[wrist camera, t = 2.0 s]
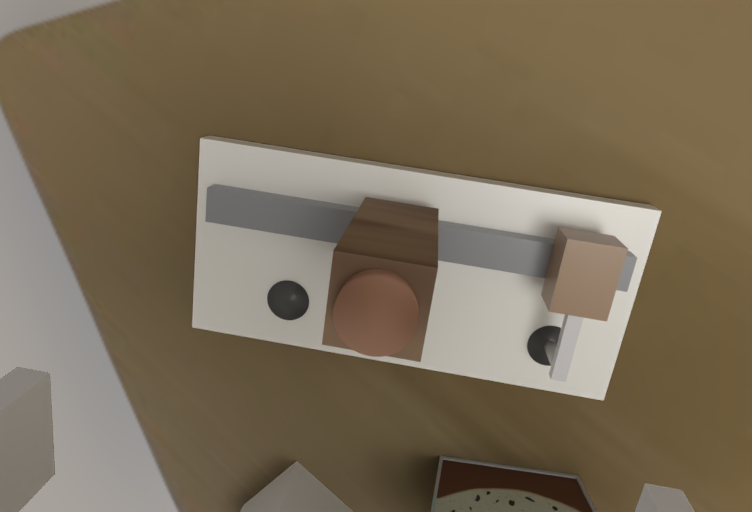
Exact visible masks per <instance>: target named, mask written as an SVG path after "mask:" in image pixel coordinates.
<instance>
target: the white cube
mask: <svg viewBox="0 0 752 512" xmlns="http://www.w3.org/2000/svg"><path fill="white" fill-rule="evenodd" d="M240 512H353V511H352V510H351V509H350V508H349V507H348V506H347V505H346V504H344V503H343V502H342V501H341V500H340V499H339V498H338V497H337V496H336V495H334V494H333V493H332V492H331V491H330V490H329V489H328V488H327V487H325V486H324V485H323V484H322V483H321V482H320V481H319V480H318V479H317V478H315V477H314V476H313V475H312V474H311V473H310V472H309V471H308V470H306V469H305V468H304V467H303V466H302V465H301V464H300V463H299V462H297V461H296V462H295V463H294V464H292V465H291V466H290V467H289V468H288V469H286V470H285V471H284V472H283V473H281V474H280V475H279V476H278V477H277V478H275V479H274V480H273V481H272V482H271V483H269V484H268V485H267V486H266V487H265V488H263V489H262V490H261V491H260V492H258V493H257V494H256V495H255V496H254V497H252V498H251V499H250V500H249V501H248V502H246V503H245V504H244V505H243V506H242V509H241V511H240Z"/></svg>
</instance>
